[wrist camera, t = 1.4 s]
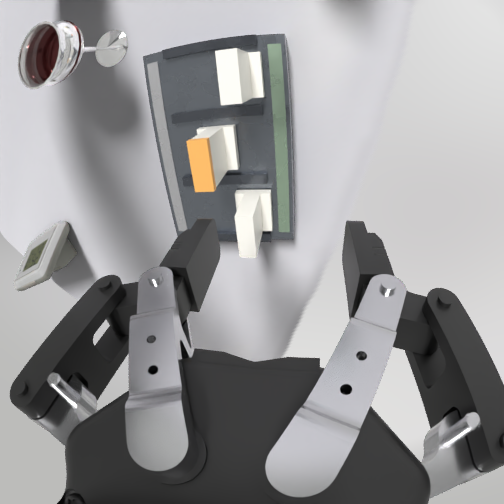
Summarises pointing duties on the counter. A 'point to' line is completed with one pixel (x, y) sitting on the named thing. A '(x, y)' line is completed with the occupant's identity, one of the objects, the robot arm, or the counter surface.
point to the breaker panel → (214, 114)
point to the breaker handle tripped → (212, 155)
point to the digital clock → (45, 256)
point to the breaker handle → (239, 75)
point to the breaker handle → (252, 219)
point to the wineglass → (63, 52)
